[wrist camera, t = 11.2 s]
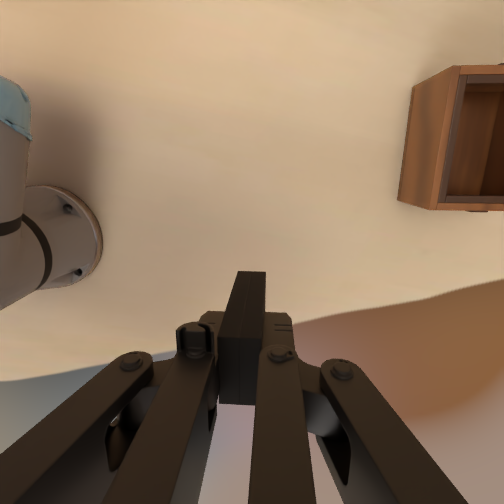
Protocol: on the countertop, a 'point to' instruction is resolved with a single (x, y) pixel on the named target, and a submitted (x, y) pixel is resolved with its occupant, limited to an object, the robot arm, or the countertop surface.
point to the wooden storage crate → (456, 141)
